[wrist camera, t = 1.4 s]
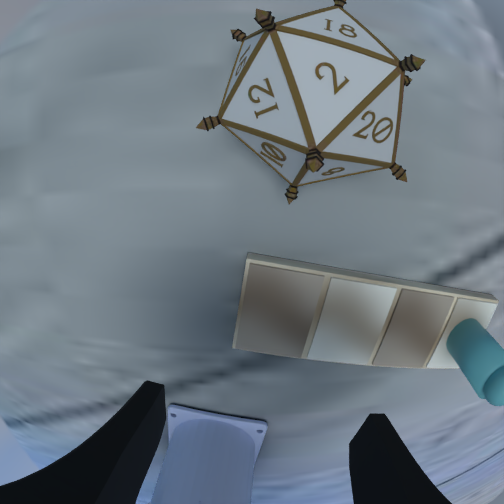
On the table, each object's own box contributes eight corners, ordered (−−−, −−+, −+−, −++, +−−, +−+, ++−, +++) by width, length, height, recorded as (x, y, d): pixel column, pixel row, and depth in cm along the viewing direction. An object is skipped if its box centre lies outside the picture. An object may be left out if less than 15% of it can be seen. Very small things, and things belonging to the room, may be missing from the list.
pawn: (468, 354, 18) (510, 414, 12) (439, 353, 18) (481, 420, 12) (485, 319, 17) (536, 376, 11) (457, 316, 17) (509, 379, 11)
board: (460, 361, 20) (466, 370, 18) (233, 339, 20) (231, 350, 19) (491, 294, 18) (500, 301, 16) (248, 252, 18) (246, 259, 17)
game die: (323, 95, 18) (466, 55, 9) (299, 221, 18) (471, 231, 9) (200, 27, 13) (331, -90, 5) (145, 171, 13) (291, 90, 4)
